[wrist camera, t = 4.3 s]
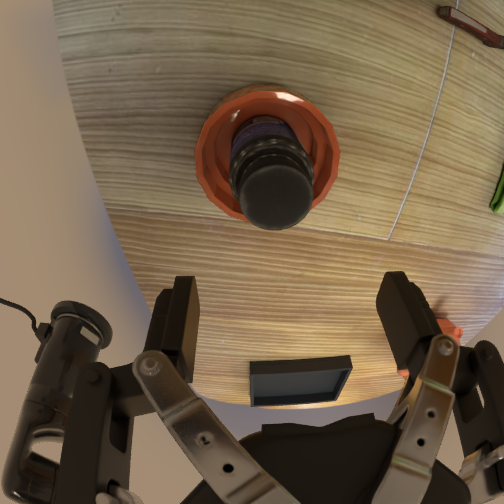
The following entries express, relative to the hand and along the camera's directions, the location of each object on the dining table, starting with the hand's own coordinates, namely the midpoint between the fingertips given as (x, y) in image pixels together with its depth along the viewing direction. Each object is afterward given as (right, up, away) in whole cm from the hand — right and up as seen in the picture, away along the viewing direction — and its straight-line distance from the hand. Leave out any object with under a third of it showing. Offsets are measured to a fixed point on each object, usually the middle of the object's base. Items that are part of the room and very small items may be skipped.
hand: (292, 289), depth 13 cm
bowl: (0, +12, +15) cm, 19 cm away
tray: (+7, -22, +41) cm, 47 cm away
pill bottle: (0, +12, +15) cm, 19 cm away
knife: (+24, +24, +7) cm, 35 cm away
